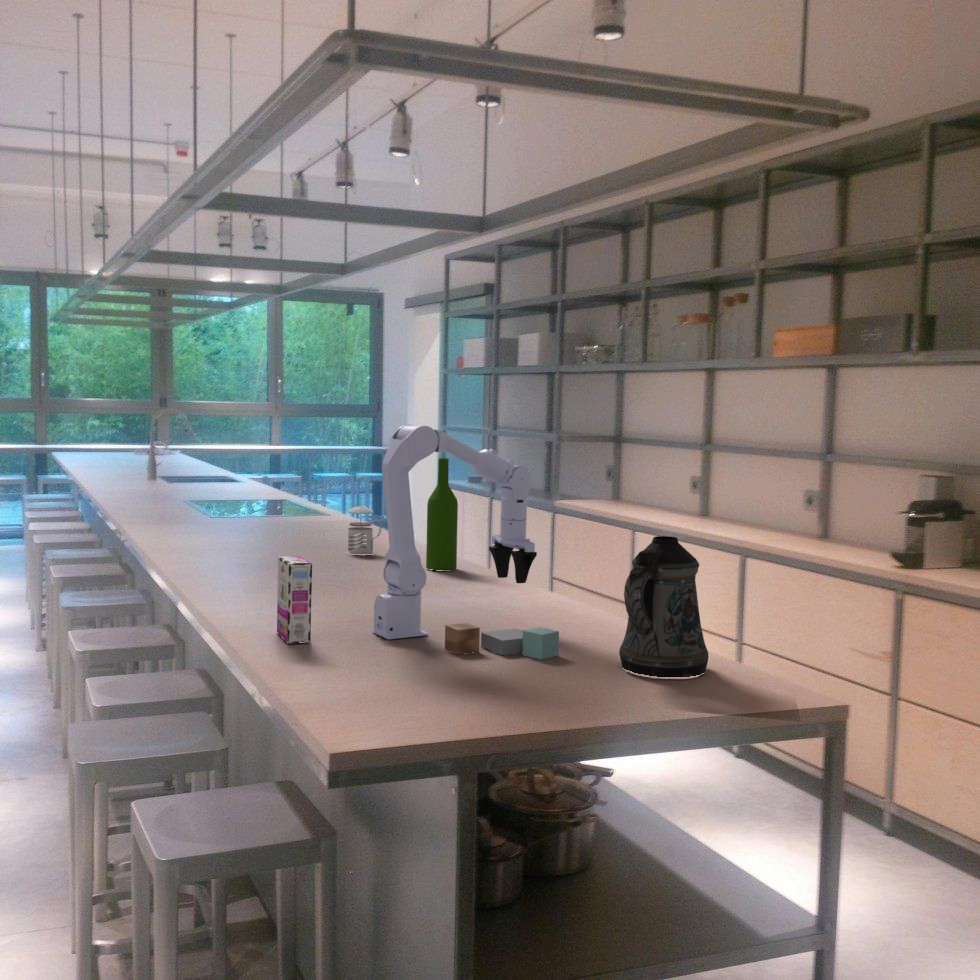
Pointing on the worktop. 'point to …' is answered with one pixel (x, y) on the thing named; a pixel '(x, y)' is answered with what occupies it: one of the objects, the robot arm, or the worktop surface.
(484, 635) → the base block
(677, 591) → the beer stein
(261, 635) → the worktop surface
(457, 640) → the walnut cube
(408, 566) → the robot arm
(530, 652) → the teal cube
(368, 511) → the french press
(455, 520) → the wine bottle
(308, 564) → the candy bar box
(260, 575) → the worktop surface
